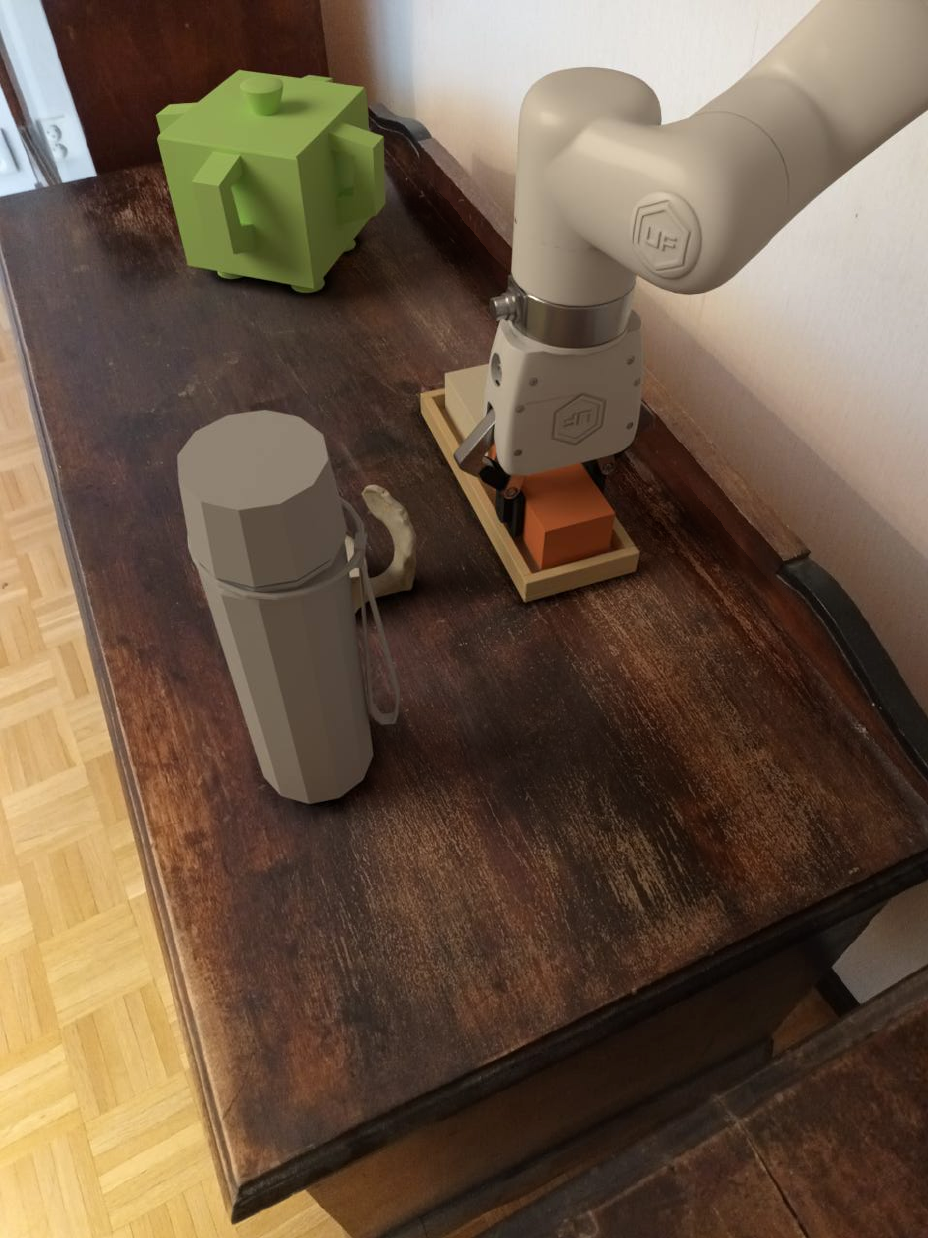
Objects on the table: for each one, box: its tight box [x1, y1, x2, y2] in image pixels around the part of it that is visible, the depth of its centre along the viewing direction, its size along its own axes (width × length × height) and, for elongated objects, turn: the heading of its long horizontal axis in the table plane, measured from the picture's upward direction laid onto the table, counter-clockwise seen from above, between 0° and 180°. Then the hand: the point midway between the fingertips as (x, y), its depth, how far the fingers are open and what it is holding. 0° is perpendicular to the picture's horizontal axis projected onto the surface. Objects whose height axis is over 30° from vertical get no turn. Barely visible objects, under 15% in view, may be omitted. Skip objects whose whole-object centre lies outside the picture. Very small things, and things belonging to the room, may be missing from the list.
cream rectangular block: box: [444, 363, 493, 459], centre depth 77 cm, size 10×6×4 cm, turn 20°
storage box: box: [155, 69, 387, 294], centre depth 91 cm, size 25×23×17 cm
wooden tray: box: [419, 387, 640, 603], centre depth 74 cm, size 24×9×2 cm, turn 20°
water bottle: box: [176, 409, 401, 805], centre depth 49 cm, size 9×8×25 cm
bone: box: [345, 484, 417, 614], centre depth 65 cm, size 9×6×10 cm
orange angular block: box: [492, 444, 616, 570], centre depth 69 cm, size 10×6×4 cm, turn 20°
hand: (548, 512), depth 71 cm, fingers closed on orange angular block, 5 cm apart
